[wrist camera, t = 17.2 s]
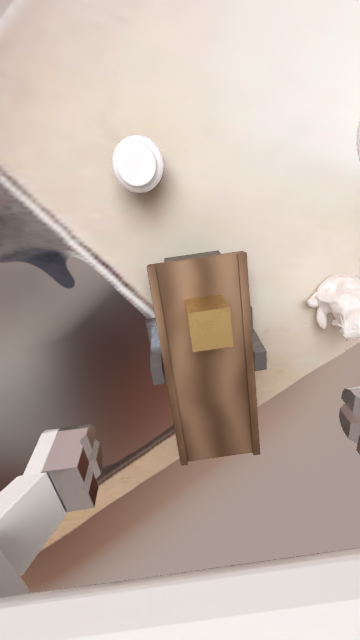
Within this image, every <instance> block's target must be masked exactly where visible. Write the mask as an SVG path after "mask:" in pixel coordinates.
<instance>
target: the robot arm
mask: <svg viewBox="0 0 360 640" xmlns="http://www.w3.org/2000/svg"><path fill="white" fill-rule="evenodd" d="M357 152H358V157H359V160H360V121H359V125H358V131H357ZM342 399H343V401H344V402H345V404H344V405H343V406H342V407H341V408H340V413H339V418H340V423H341V426H342V428H343V431H344V433H345V434H346V436H347V437H348V438H349V439H350V440H352V441H354V442H356V443H357V451H358V453H359V454H360V386H358V387H351V388H345V389H344V390H343V392H342ZM95 435H96V432H95V429H94V427H93V425H85V426H75V427H67V428H60V429H53V430H45V431H44V432H43V433H42V434H41V436H40V438H39V441H38V443H37V445H36V447H35V450H34V452H33V454H32V456H31V458H30V461H29V463H28V465H27V467H26V470H25V472H24V474H23V476H18V477H17V478H15V479H14V480H13V481H12V482H11V483H10V484H9V485H8V486H7V487H6V488H5V489H3V490H2V491H1V492H0V640H360V548H354V549H346V550H339V551H332V552H325V553H317V554H310V555H303V556H296V557H289V558H281V559H274V560H267V561H260V562H253V563H246V564H239V565H231V566H225V567H217V568H210V569H203V570H195V571H189V572H181V573H175V574H167V575H160V576H153V577H146V578H138V579H131V580H124V581H116V582H109V583H103V584H95V585H88V586H80V587H73V588H66V589H59V590H52V591H45V592H37V593H31V592H30V590H29V589H28V587H27V586H26V585H25V583H24V582H23V581H22V579H21V576H22V575H23V574H24V572H25V571H26V570H27V568H28V567H29V565H30V564H31V563H32V561H33V560H34V558H35V557H36V556H37V554H38V553H39V552H40V550H41V549H42V547H43V546H44V545H45V543H46V542H47V540H48V539H49V538H50V536H51V535H52V533H53V532H54V531H55V529H56V528H57V527H58V525H59V524H60V522H61V521H62V520H63V518H64V517H65V515H66V512H70V511H76V510H82V509H88V508H94V506H95V501H96V496H97V491H98V484H97V481H96V479H97V477H98V476H99V475H100V474H101V470H102V461H103V460H102V458H103V456H102V449H101V446H100V443H99V442H98V441H96V440H95Z"/></svg>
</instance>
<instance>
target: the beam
mask: <svg viewBox="0 0 360 640" xmlns="http://www.w3.org/2000/svg"><path fill="white" fill-rule="evenodd" d="M147 272H148V277H149V283H150V289H151V295H152V300H153V306H154V312H155V318H156V323H157V329H158V335H159V341H160V347H161V352H162V358H163V364H164V370H165V375H166V381H167V386H168V393H169V398H170V404H171V410H172V416H173V421H174V427H175V433H176V439H177V445H178V451H179V456H180V462H181V465H187V464H188V463H187V461H194V460H201V459H209V458H215V457H223V456H230V455H237V454H244V453H250V452H253V455H258V454H260V444H259V431H258V415H257V400H256V385H255V371H254V356H253V341H252V327H251V312H250V297H249V283H248V268H247V253H246V252H243V251H239V252H232V253H226V254H219V255H212V256H205V257H198V258H191V259H184V260H178V261H171V262H164V263H157V264H150V265H148V266H147ZM219 294H221V295H222V297H223V298H224V300H225V301H226V302H227V304H228V305H229V307H230V314H231V325H232V336H233V347H226V348H219V349H212V350H205V351H198V352H193V351H192V345H191V340H190V335H189V328H188V321H187V314H186V307H185V299H191V298H198V297H205V296H212V295H219Z"/></svg>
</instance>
